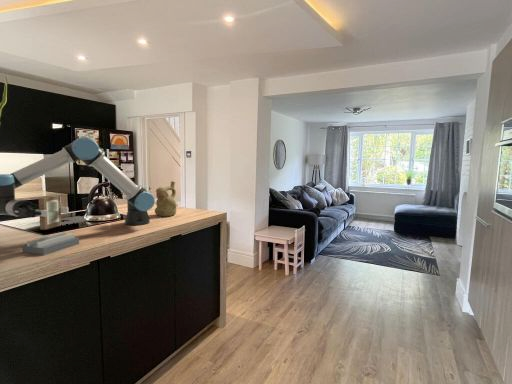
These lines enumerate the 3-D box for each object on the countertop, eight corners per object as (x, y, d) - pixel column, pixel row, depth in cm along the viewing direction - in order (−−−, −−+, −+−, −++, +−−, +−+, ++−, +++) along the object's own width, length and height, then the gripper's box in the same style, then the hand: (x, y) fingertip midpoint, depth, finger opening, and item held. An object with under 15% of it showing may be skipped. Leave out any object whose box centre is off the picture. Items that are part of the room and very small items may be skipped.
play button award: (92, 218, 194) (60, 224, 176) (92, 221, 194) (60, 226, 177) (79, 215, 202) (47, 220, 185) (79, 218, 202) (47, 223, 185)
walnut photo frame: (56, 224, 138) (55, 195, 137) (61, 225, 138) (60, 196, 136) (40, 229, 129) (38, 198, 128) (45, 229, 129) (44, 198, 127)
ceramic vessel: (148, 216, 212) (148, 182, 210) (166, 211, 230) (166, 180, 227) (167, 218, 206) (166, 183, 203) (184, 214, 224) (184, 181, 221)
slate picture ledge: (59, 241, 145) (59, 231, 144) (79, 243, 142) (78, 233, 141) (22, 252, 128) (21, 241, 127) (43, 255, 125) (43, 243, 124)
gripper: (43, 212, 148) (78, 215, 143) (-5, 220, 127) (34, 225, 122) (42, 197, 147) (78, 200, 142) (-6, 203, 126) (33, 207, 121)
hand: (58, 211), depth 132 cm, fingers closed on walnut photo frame, 9 cm apart
